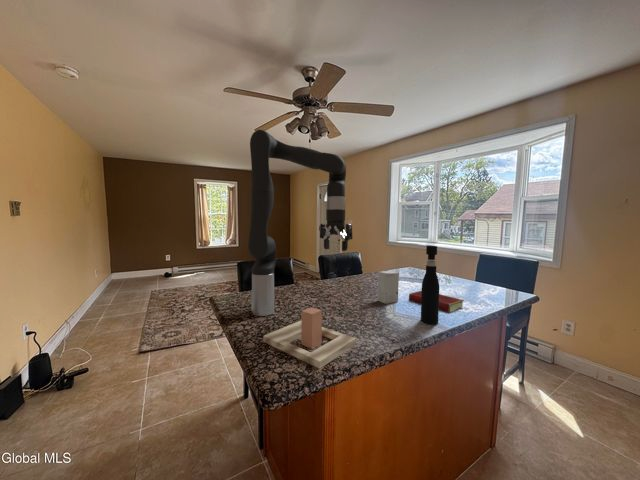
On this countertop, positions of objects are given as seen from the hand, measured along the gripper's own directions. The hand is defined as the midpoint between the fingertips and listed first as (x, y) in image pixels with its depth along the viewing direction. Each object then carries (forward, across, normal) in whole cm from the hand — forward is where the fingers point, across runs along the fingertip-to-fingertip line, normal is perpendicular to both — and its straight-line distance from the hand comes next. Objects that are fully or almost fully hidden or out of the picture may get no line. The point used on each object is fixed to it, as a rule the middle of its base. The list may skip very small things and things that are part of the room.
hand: (335, 249), depth 102 cm
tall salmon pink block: (+28, +7, -22) cm, 36 cm away
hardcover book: (+29, +25, +47) cm, 61 cm away
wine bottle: (+28, +30, +22) cm, 47 cm away
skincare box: (+28, +6, +36) cm, 46 cm away
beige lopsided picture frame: (+28, +6, -22) cm, 36 cm away
